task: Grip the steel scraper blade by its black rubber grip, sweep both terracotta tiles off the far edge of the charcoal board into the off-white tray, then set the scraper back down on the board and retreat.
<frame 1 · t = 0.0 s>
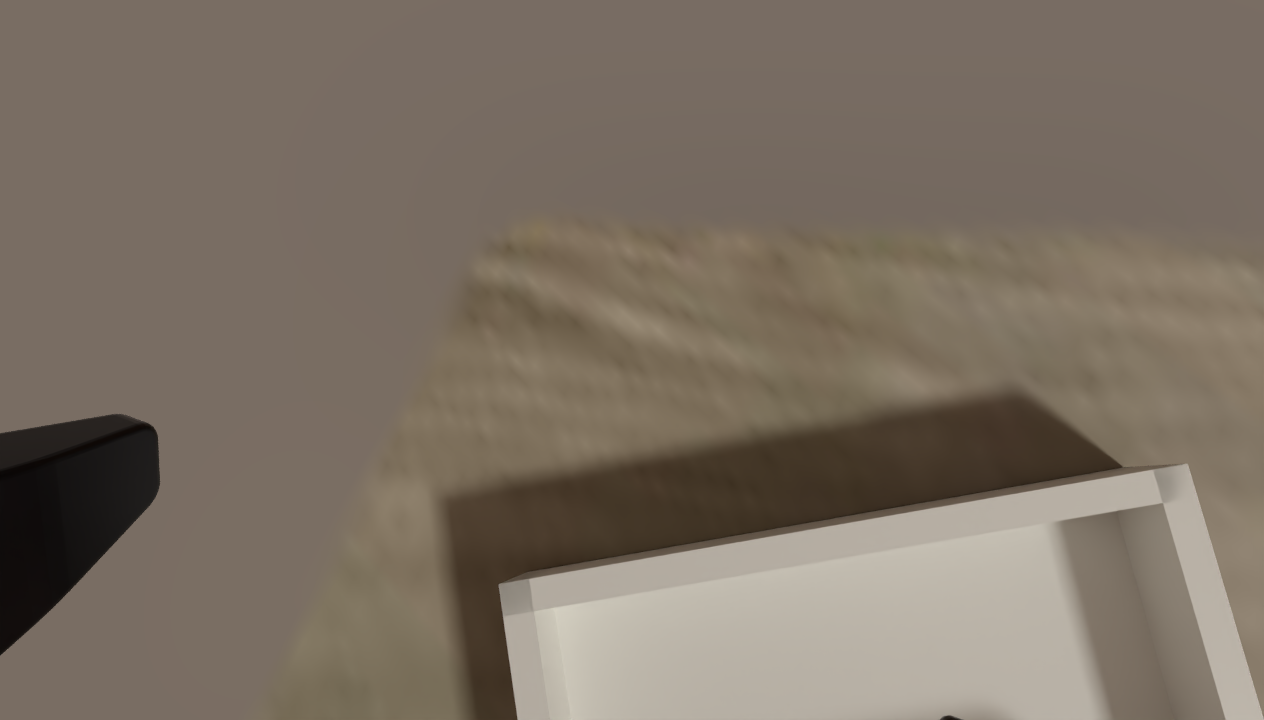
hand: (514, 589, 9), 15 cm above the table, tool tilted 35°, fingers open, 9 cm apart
tray: (850, 677, 22), on the table
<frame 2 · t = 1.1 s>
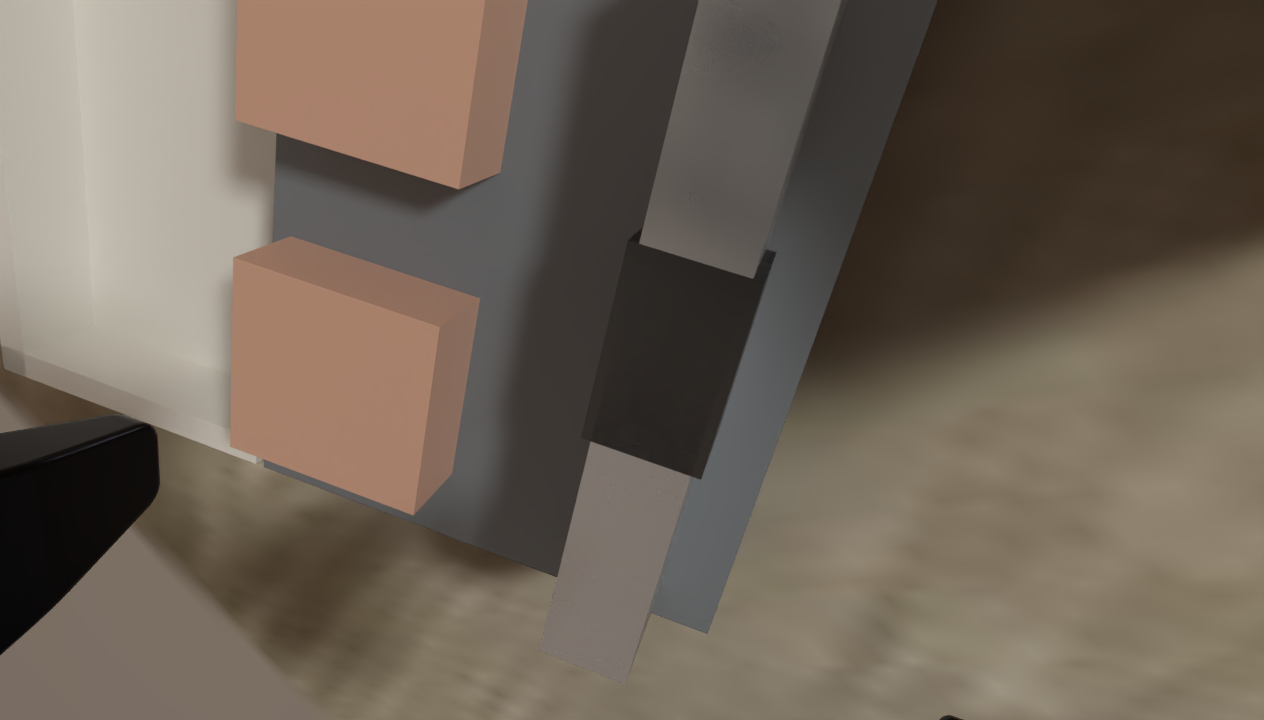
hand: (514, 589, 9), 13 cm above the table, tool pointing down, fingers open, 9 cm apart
tile 1: (408, 21, 17), point 3 cm above the table, touching board
tray: (202, 107, 22), on the table
scraper: (701, 304, 17), point 3 cm above the table, touching board
board: (573, 221, 21), on the table
tile 2: (374, 359, 20), point 3 cm above the table, touching board
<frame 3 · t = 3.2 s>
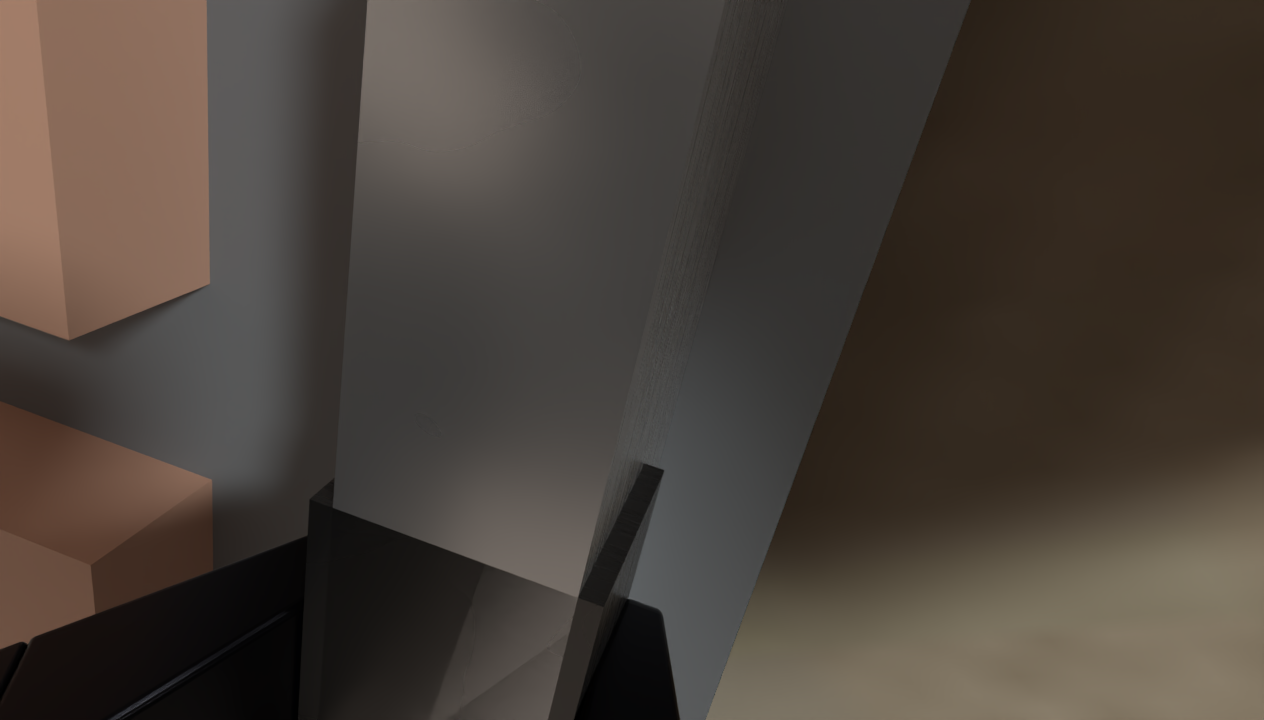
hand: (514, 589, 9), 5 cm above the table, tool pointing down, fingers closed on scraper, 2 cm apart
tile 1: (20, 23, 9), point 3 cm above the table, touching board
scraper: (561, 511, 10), point 3 cm above the table, touching board, gripper
board: (395, 332, 13), on the table
tile 2: (76, 557, 13), point 3 cm above the table, touching board
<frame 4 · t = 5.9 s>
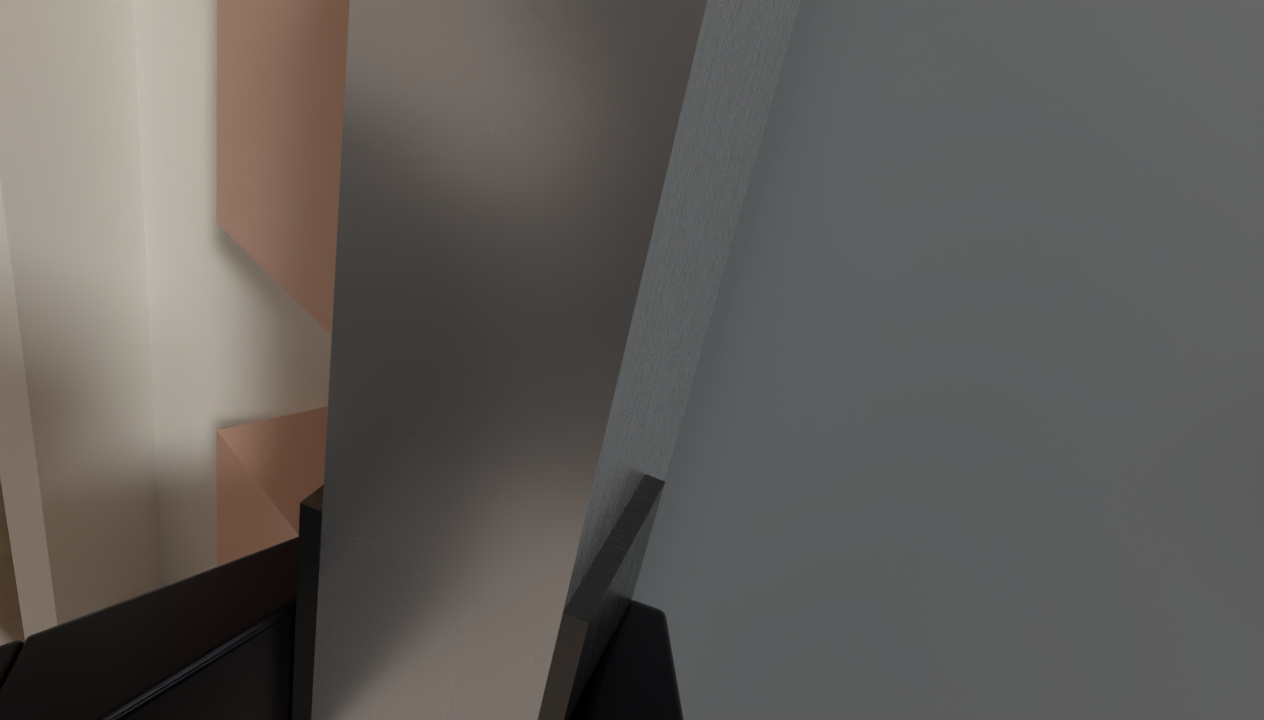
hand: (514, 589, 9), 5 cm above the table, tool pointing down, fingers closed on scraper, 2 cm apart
tile 1: (461, 97, 10), point 2 cm above the table, tilted 32°, touching tray
tray: (344, 305, 14), on the table
scraper: (569, 517, 10), point 4 cm above the table, touching gripper, tile 2
board: (984, 510, 12), on the table
tile 2: (398, 600, 14), point 2 cm above the table, tilted 30°, touching scraper, tray
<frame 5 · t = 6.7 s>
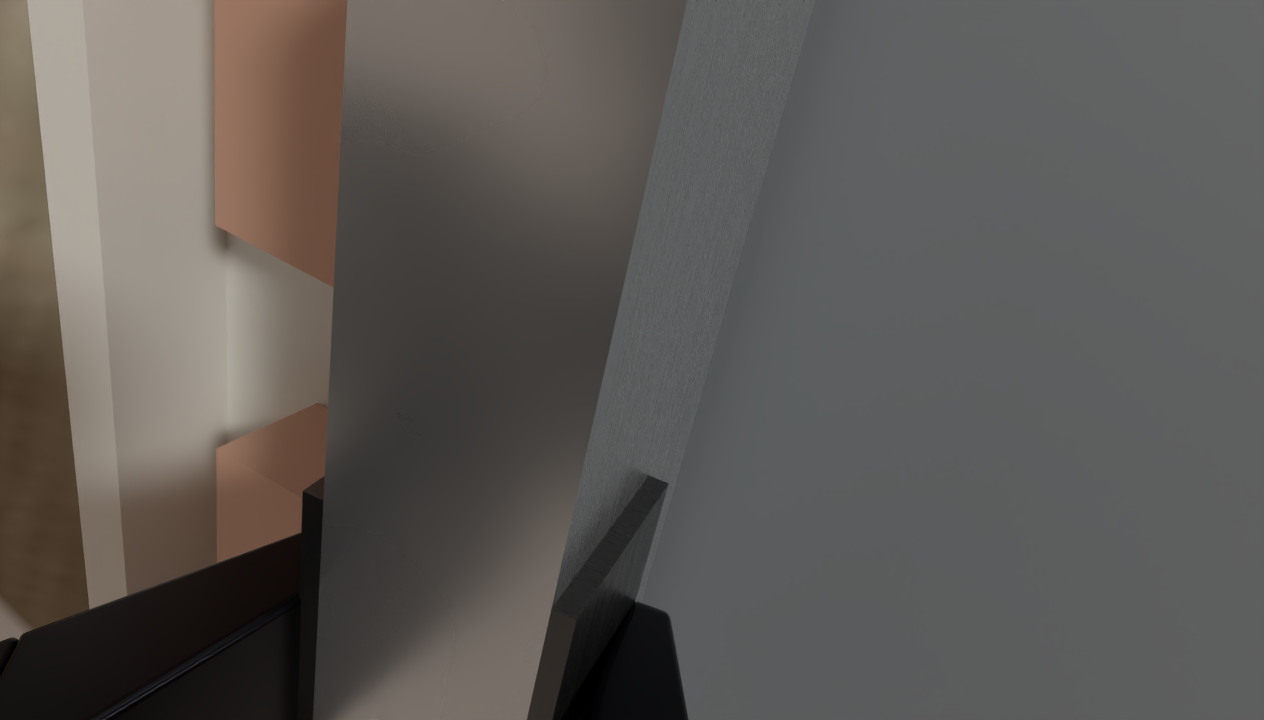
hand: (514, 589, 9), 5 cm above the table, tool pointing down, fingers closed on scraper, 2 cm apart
tile 1: (481, 84, 10), point 1 cm above the table, tilted 17°, touching scraper, tray
tray: (430, 330, 14), on the table
scraper: (581, 518, 10), point 3 cm above the table, tilted 7°, touching gripper, tile 2, tile 1
board: (1101, 546, 12), on the table
tile 2: (415, 578, 14), point 1 cm above the table, tilted 12°, touching scraper, tray
when the fingers open (5 cm above the table, at t = 9.1 s): scraper stays where it is, resting on board.
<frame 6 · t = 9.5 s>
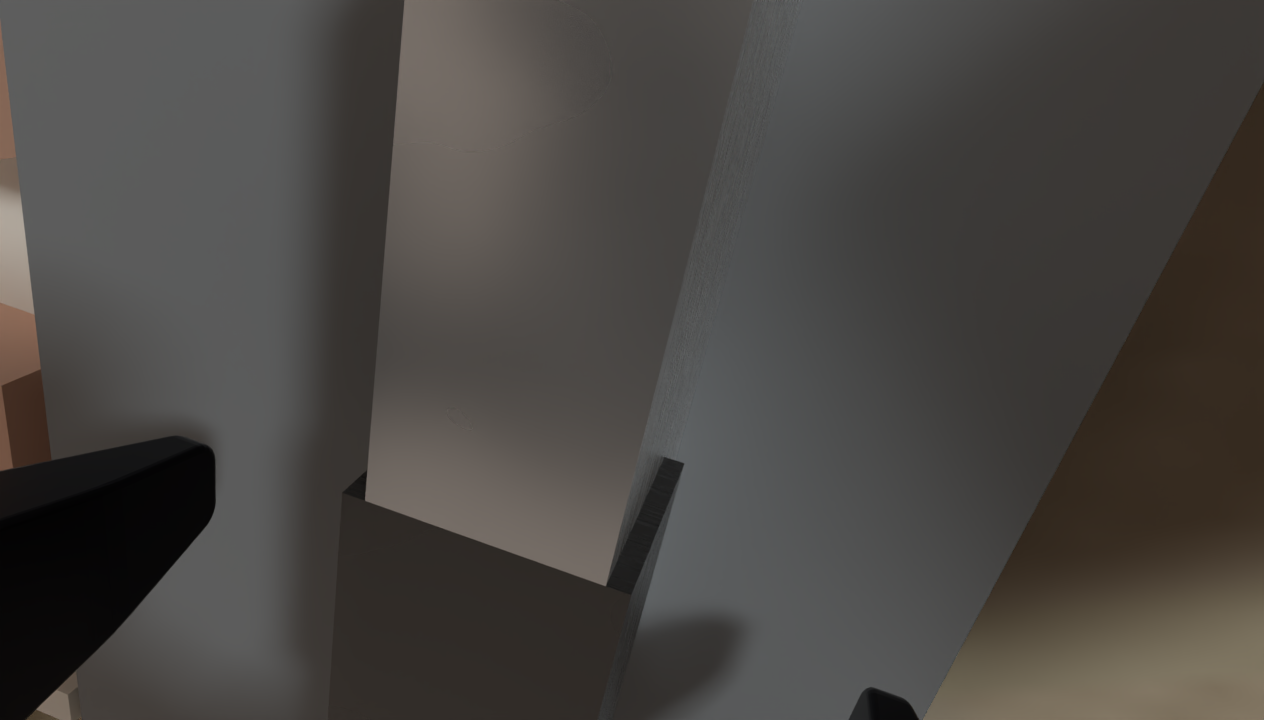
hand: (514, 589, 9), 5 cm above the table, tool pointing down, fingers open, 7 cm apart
scraper: (579, 506, 10), point 3 cm above the table, touching board
board: (540, 373, 13), on the table
tile 2: (8, 415, 16), point 1 cm above the table, touching tray
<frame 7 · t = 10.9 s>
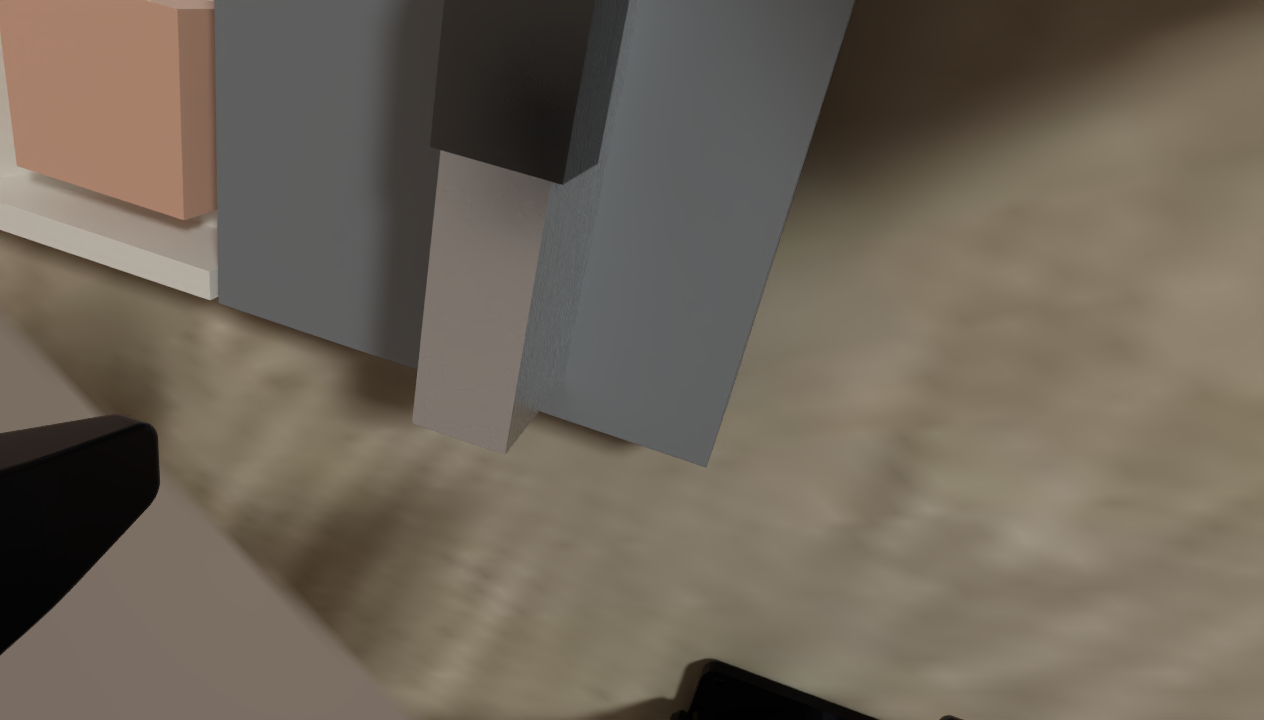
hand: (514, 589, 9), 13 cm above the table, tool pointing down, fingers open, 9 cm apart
scraper: (581, 32, 16), point 3 cm above the table, touching board
board: (553, 10, 19), on the table
tile 2: (155, 85, 21), point 1 cm above the table, touching tray
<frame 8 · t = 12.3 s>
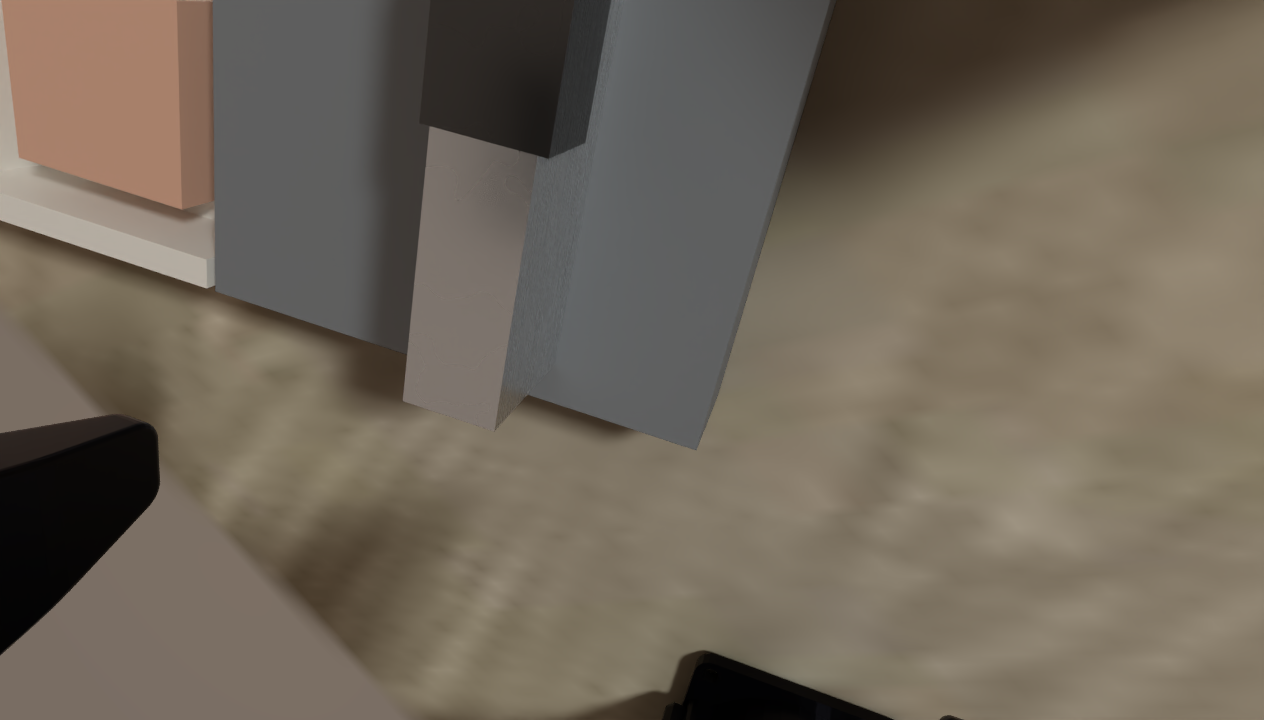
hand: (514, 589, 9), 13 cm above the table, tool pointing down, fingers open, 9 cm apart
scraper: (570, 17, 16), point 3 cm above the table, touching board
board: (544, 1, 19), on the table
tile 2: (155, 79, 22), point 1 cm above the table, touching tray
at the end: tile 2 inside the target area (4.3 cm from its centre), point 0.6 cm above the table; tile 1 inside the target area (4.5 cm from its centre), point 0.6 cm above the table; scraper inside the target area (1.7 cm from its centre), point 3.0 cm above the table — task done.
